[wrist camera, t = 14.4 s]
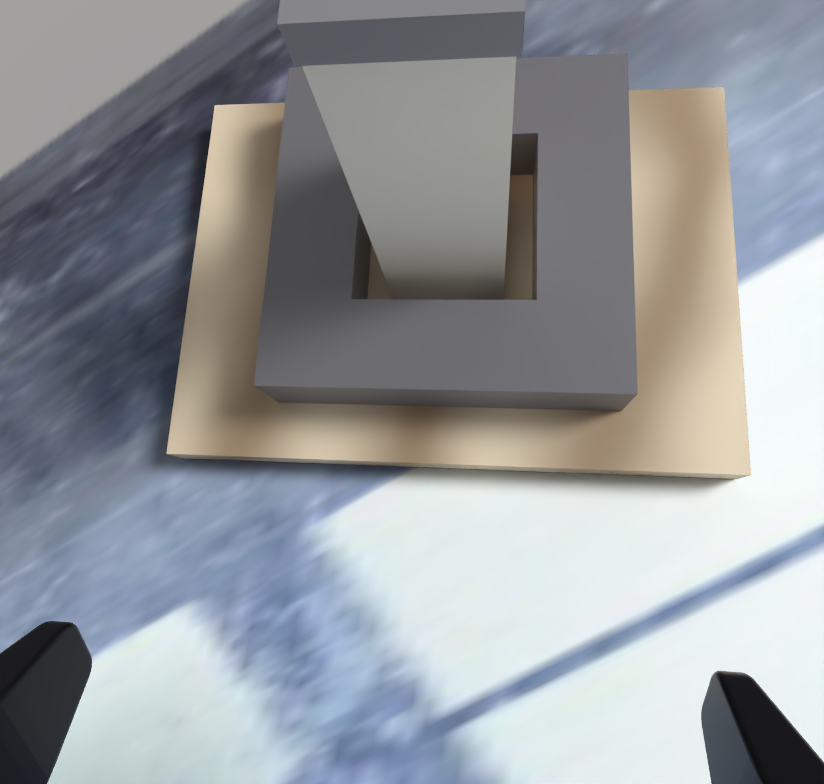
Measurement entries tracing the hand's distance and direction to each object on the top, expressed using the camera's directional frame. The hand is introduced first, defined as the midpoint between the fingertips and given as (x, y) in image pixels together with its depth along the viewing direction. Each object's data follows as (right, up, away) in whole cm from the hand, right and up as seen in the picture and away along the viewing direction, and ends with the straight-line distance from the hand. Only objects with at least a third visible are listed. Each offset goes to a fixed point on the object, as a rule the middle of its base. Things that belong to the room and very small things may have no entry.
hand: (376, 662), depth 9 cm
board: (+2, +9, +16) cm, 18 cm away
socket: (+2, +9, +15) cm, 17 cm away
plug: (+2, +9, +15) cm, 18 cm away
